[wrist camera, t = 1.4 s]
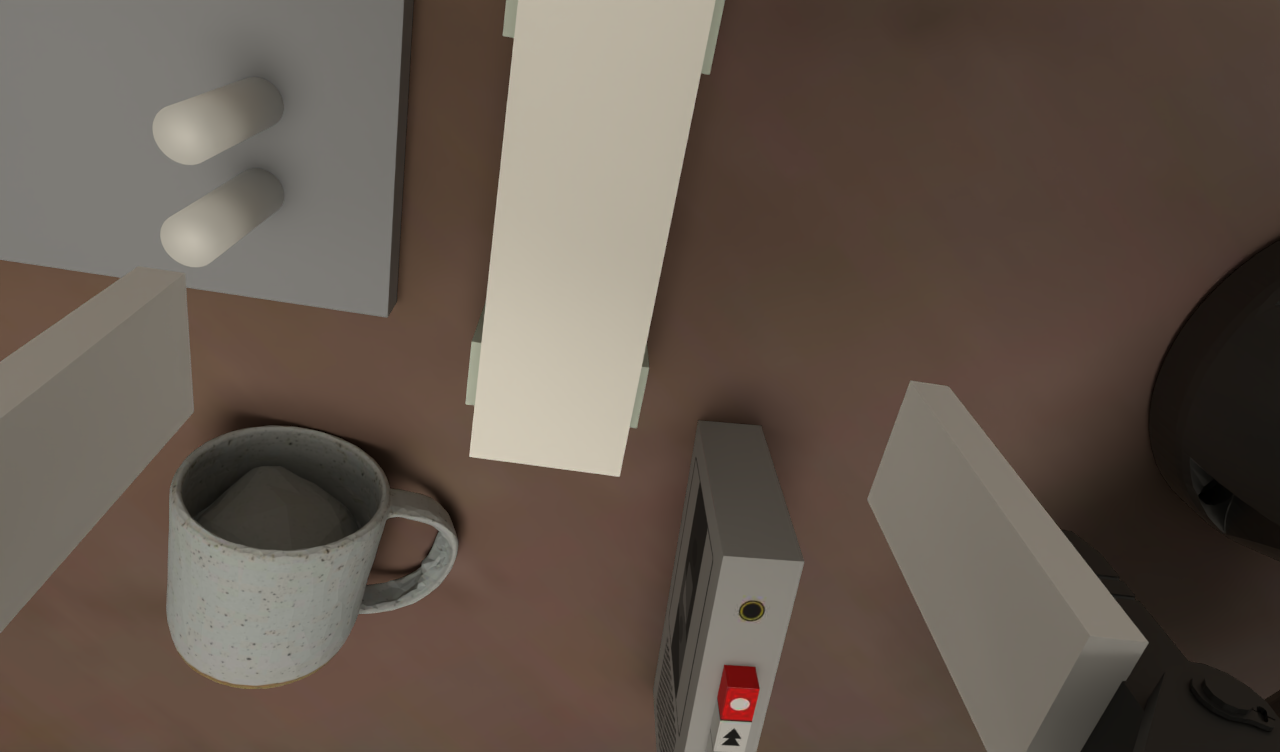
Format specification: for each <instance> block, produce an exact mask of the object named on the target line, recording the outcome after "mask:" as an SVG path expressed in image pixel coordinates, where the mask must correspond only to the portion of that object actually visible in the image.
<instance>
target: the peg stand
mask: <svg viewBox="0 0 1280 752" xmlns="http://www.w3.org/2000/svg"><path fill="white" fill-rule="evenodd" d="M413 4H414V0H0V260H6V261H13V262H20V263H26V264H33V265H40V266H46V267H53V268H60V269H66V270H73V271H80V272H86V273H93V274H100V275H106V276H113V277H120V278H122V277H123V276H125V275H126V274H128V273H129V272H131V271H132V270H133V269H135V268H136V267H138V266H140V267H147V268H154V269H160V270H167V271H174V272H181V273H185V278H186V287H187V288H193V289H200V290H207V291H213V292H220V293H227V294H233V295H240V296H247V297H253V298H260V299H267V300H273V301H280V302H287V303H293V304H300V305H307V306H314V307H320V308H327V309H334V310H340V311H347V312H354V313H360V314H367V315H374V316H380V317H387V318H388V316H389V314H390V313H391V311H392V309H393V308H394V306H395V304H396V303H397V286H398V269H399V251H400V234H401V216H402V198H403V181H404V163H405V145H406V128H407V110H408V92H409V75H410V57H411V39H412V22H413Z"/></svg>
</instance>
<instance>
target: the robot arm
mask: <svg viewBox="0 0 1280 752" xmlns="http://www.w3.org/2000/svg"><path fill="white" fill-rule="evenodd" d="M193 412H194V404H193V388H192V372H191V357H190V341H189V325H188V310H187V294H186V278H185V273H181V272H174V271H167V270H160V269H154V268H147V267H140V266H138V267H136V268H135V269H133V270H132V271H131V272H129V273H128V274H126V275H125V276H123V277H122V278H120V279H119V280H118V281H116V282H115V283H113V284H112V285H110V286H109V287H107V288H106V289H105V290H103V291H102V292H100V293H99V294H97V295H96V296H94V297H93V298H92V299H90V300H89V301H87V302H86V303H84V304H83V305H81V306H80V307H79V308H77V309H76V310H74V311H73V312H71V313H70V314H68V315H67V316H66V317H64V318H63V319H61V320H60V321H58V322H57V323H55V324H54V325H53V326H51V327H50V328H48V329H47V330H45V331H44V332H42V333H41V334H40V335H38V336H37V337H35V338H34V339H32V340H31V341H29V342H28V343H27V344H25V345H24V346H22V347H21V348H19V349H18V350H16V351H15V352H14V353H12V354H11V355H9V356H8V357H6V358H5V359H3V360H2V361H1V362H0V633H1V632H2V631H3V629H4V628H5V627H6V626H7V625H8V624H9V623H10V621H11V620H12V619H13V618H14V617H15V616H16V615H17V613H18V612H19V611H20V610H21V609H22V608H23V607H24V605H25V604H26V603H27V602H28V601H29V600H30V599H31V597H32V596H33V595H34V594H35V593H36V592H37V591H38V589H39V588H40V587H41V586H42V585H43V584H44V583H45V581H46V580H47V579H48V578H49V577H50V576H51V575H52V573H53V572H54V571H55V570H56V569H57V568H58V567H59V565H60V564H61V563H62V562H63V561H64V560H65V559H66V557H67V556H68V555H69V554H70V553H71V552H72V551H73V549H74V548H75V547H76V546H77V545H78V544H79V543H80V541H81V540H82V539H83V538H84V537H85V536H86V535H87V533H88V532H89V531H90V530H91V529H92V528H93V527H94V525H95V524H96V523H97V522H98V521H99V520H100V519H101V517H102V516H103V515H104V514H105V513H106V512H107V511H108V509H109V508H110V507H111V506H112V505H113V504H114V503H115V501H116V500H117V499H118V498H119V497H120V496H121V495H122V493H123V492H124V491H125V490H126V489H127V488H128V487H129V485H130V484H131V483H132V482H133V481H134V480H135V479H136V477H137V476H138V475H139V474H140V473H141V472H142V471H143V469H144V468H145V467H146V466H147V465H148V464H149V463H150V461H151V460H152V459H153V458H154V457H155V456H156V455H157V453H158V452H159V451H160V450H161V449H162V448H163V447H164V445H165V444H166V443H167V442H168V441H169V440H170V439H171V437H172V436H173V435H174V434H175V433H176V432H177V431H178V429H179V428H180V427H181V426H182V425H183V424H184V423H185V421H186V420H187V419H188V418H189V417H190V416H191V415H192V413H193ZM1149 430H1150V441H1151V447H1152V451H1153V455H1154V458H1155V461H1156V463H1157V466H1158V468H1159V470H1160V472H1161V474H1162V476H1163V477H1164V479H1165V480H1166V482H1167V483H1168V485H1169V486H1170V487H1171V488H1172V490H1173V491H1174V492H1175V493H1176V494H1177V495H1178V496H1179V497H1180V498H1181V499H1182V500H1183V501H1184V502H1186V503H1187V504H1188V505H1189V506H1190V507H1191V508H1192V509H1193V510H1194V511H1195V512H1196V513H1197V514H1198V515H1199V516H1200V517H1201V518H1202V519H1203V520H1204V521H1206V522H1207V523H1208V524H1209V525H1210V526H1212V527H1213V528H1214V529H1216V530H1217V531H1219V532H1220V533H1222V534H1223V535H1225V536H1226V537H1228V538H1230V539H1232V540H1233V541H1235V542H1237V543H1239V544H1242V545H1244V546H1246V547H1248V548H1251V549H1253V550H1255V551H1257V552H1260V553H1262V554H1264V555H1267V556H1269V557H1271V558H1273V559H1276V560H1278V561H1280V240H1279V241H1277V242H1275V243H1274V244H1272V245H1270V246H1269V247H1267V248H1266V249H1264V250H1263V251H1261V252H1260V253H1258V254H1257V255H1255V256H1254V257H1253V258H1251V259H1250V260H1248V261H1247V262H1246V263H1245V264H1243V265H1242V266H1241V267H1240V268H1238V269H1237V270H1236V271H1235V272H1233V273H1232V274H1231V275H1230V276H1229V277H1228V278H1227V279H1225V280H1224V281H1223V282H1222V283H1221V284H1220V285H1219V286H1218V287H1217V288H1216V289H1215V290H1214V291H1213V292H1212V293H1211V294H1210V295H1209V296H1208V297H1207V298H1206V300H1205V301H1204V302H1203V303H1202V304H1201V305H1200V306H1199V308H1198V309H1197V310H1196V311H1195V312H1194V314H1193V315H1192V316H1191V318H1190V319H1189V320H1188V322H1187V323H1186V324H1185V326H1184V327H1183V329H1182V330H1181V332H1180V333H1179V335H1178V337H1177V338H1176V340H1175V341H1174V343H1173V345H1172V347H1171V349H1170V350H1169V352H1168V354H1167V356H1166V359H1165V361H1164V363H1163V365H1162V367H1161V370H1160V373H1159V375H1158V378H1157V381H1156V385H1155V388H1154V392H1153V396H1152V401H1151V408H1150V419H1149ZM867 500H868V502H869V504H870V506H871V508H872V511H873V513H874V515H875V517H876V519H877V521H878V523H879V525H880V527H881V529H882V532H883V534H884V536H885V538H886V540H887V542H888V544H889V546H890V548H891V551H892V553H893V555H894V557H895V559H896V561H897V563H898V565H899V567H900V569H901V572H902V574H903V576H904V578H905V580H906V582H907V584H908V586H909V588H910V590H911V593H912V595H913V597H914V599H915V601H916V603H917V605H918V607H919V609H920V611H921V614H922V616H923V618H924V620H925V622H926V624H927V626H928V628H929V630H930V632H931V635H932V637H933V639H934V641H935V643H936V645H937V647H938V649H939V651H940V653H941V656H942V658H943V660H944V662H945V664H946V666H947V668H948V670H949V672H950V674H951V677H952V679H953V681H954V683H955V685H956V687H957V689H958V691H959V693H960V696H961V698H962V700H963V702H964V704H965V706H966V708H967V710H968V712H969V714H970V717H971V719H972V721H973V723H974V725H975V727H976V729H977V731H978V733H979V735H980V738H981V740H982V742H983V744H984V746H985V748H986V750H987V752H1280V690H1279V691H1277V692H1276V693H1274V694H1273V695H1271V696H1270V697H1268V698H1266V699H1265V700H1264V699H1262V698H1261V697H1260V696H1259V695H1258V694H1257V693H1255V692H1254V691H1253V690H1252V689H1251V688H1250V687H1248V686H1247V685H1245V684H1243V683H1242V682H1240V681H1238V680H1237V679H1235V678H1234V677H1232V676H1230V675H1229V674H1227V673H1225V672H1222V671H1220V670H1217V669H1215V668H1213V667H1210V666H1208V665H1205V664H1200V663H1195V662H1190V661H1188V660H1187V659H1186V658H1185V656H1184V655H1183V654H1182V653H1181V652H1180V650H1179V649H1178V648H1177V647H1176V645H1175V644H1174V643H1173V642H1172V641H1171V639H1170V638H1169V637H1168V636H1167V634H1166V633H1165V632H1164V631H1163V630H1162V628H1161V627H1160V626H1159V625H1158V623H1157V622H1156V621H1155V620H1154V618H1153V617H1152V616H1151V615H1150V614H1149V612H1148V611H1147V610H1146V609H1145V607H1144V606H1143V605H1142V604H1141V603H1140V601H1135V595H1134V594H1133V593H1132V592H1131V590H1130V589H1129V588H1128V587H1127V585H1126V584H1125V583H1124V582H1123V581H1119V576H1118V574H1117V573H1116V572H1115V571H1114V570H1113V568H1112V567H1111V566H1110V565H1109V563H1108V562H1107V561H1106V560H1105V558H1104V557H1103V556H1102V555H1101V554H1100V553H1099V552H1098V551H1097V550H1095V549H1094V548H1093V547H1091V546H1090V545H1089V544H1088V543H1086V542H1085V541H1084V540H1082V539H1081V538H1080V537H1078V536H1077V535H1076V534H1075V533H1073V532H1072V531H1066V530H1060V528H1059V527H1058V526H1057V524H1056V523H1055V522H1054V521H1053V519H1052V518H1051V517H1050V516H1049V514H1048V513H1047V512H1046V510H1045V509H1044V508H1043V507H1042V505H1041V504H1040V503H1039V501H1038V500H1037V499H1036V498H1035V496H1034V495H1033V494H1032V492H1031V491H1030V490H1029V489H1028V487H1027V486H1026V485H1025V484H1024V482H1023V481H1022V480H1021V478H1020V477H1019V476H1018V475H1017V473H1016V472H1015V471H1014V469H1013V468H1012V467H1011V466H1010V464H1009V463H1008V462H1007V460H1006V459H1005V458H1004V457H1003V455H1002V454H1001V453H1000V452H999V450H998V449H997V448H996V446H995V445H994V444H993V443H992V441H991V440H990V439H989V437H988V436H987V435H986V434H985V432H984V431H983V430H982V429H981V427H980V426H979V425H978V423H977V422H976V421H975V420H974V418H973V417H972V416H971V414H970V413H969V412H968V411H967V409H966V408H965V407H964V405H963V404H962V403H961V402H960V400H959V399H958V398H957V397H956V395H955V394H954V393H953V391H952V390H951V389H950V388H949V386H944V385H937V384H930V383H923V382H917V381H910V383H909V386H908V388H907V391H906V394H905V397H904V399H903V402H902V405H901V408H900V410H899V413H898V416H897V419H896V421H895V424H894V427H893V430H892V432H891V435H890V438H889V441H888V443H887V446H886V449H885V452H884V454H883V457H882V460H881V463H880V465H879V468H878V471H877V474H876V477H875V479H874V482H873V485H872V488H871V490H870V493H869V496H868V499H867Z"/></svg>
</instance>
